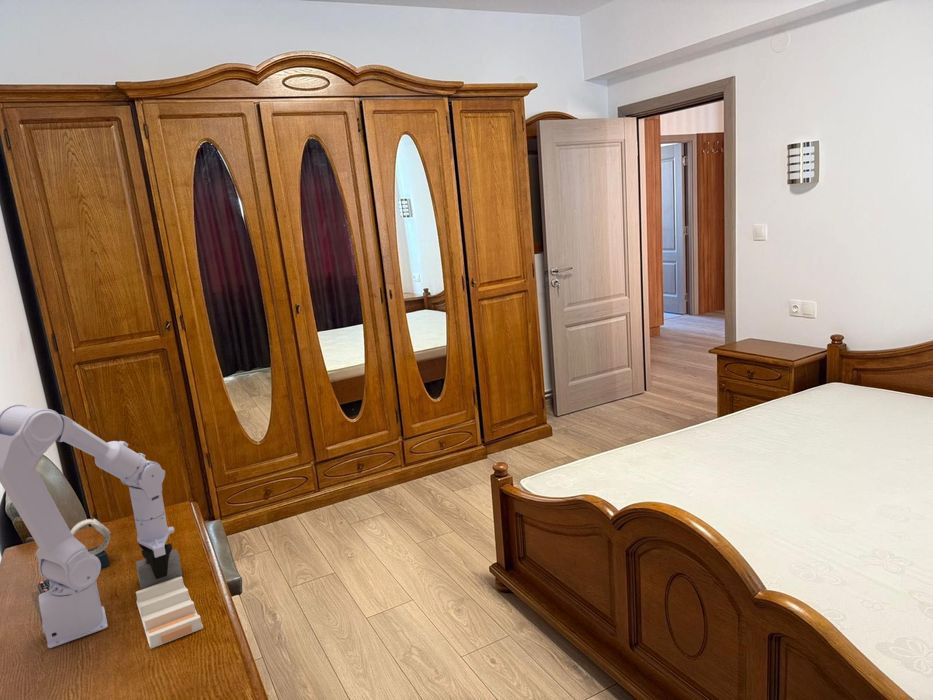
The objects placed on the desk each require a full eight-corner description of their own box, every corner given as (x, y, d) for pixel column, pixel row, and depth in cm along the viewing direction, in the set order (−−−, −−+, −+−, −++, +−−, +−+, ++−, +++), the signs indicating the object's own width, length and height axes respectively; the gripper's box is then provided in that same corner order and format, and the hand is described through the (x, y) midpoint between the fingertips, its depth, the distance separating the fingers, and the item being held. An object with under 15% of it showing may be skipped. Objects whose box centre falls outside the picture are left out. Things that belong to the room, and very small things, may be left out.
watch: (119, 562, 140) (110, 517, 137) (79, 578, 134) (69, 532, 132) (111, 554, 144) (102, 510, 141) (71, 569, 138) (62, 524, 136)
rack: (150, 650, 110) (148, 638, 109) (136, 602, 124) (134, 592, 123) (203, 629, 114) (201, 617, 114) (184, 586, 129) (182, 575, 128)
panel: (141, 589, 129) (137, 567, 128) (139, 582, 131) (135, 561, 130) (182, 575, 133) (178, 554, 132) (179, 569, 135) (176, 548, 134)
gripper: (177, 521, 125) (187, 581, 128) (164, 497, 137) (173, 552, 140) (138, 532, 121) (149, 594, 124) (129, 507, 133) (139, 563, 136)
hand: (160, 573), depth 132 cm, fingers closed on panel, 3 cm apart
